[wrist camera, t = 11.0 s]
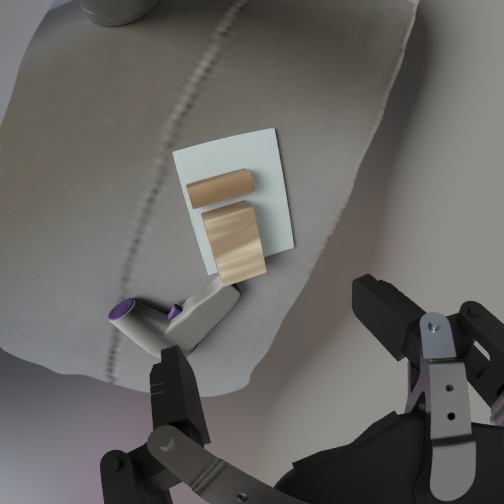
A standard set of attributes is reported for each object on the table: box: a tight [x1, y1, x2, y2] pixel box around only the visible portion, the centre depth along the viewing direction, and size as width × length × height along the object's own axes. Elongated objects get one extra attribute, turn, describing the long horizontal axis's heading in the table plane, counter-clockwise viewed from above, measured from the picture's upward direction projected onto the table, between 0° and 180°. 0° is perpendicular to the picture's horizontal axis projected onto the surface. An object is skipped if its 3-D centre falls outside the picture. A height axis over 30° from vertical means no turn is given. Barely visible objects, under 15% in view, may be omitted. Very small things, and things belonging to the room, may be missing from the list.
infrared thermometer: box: [108, 275, 241, 359], centre depth 35 cm, size 5×12×15 cm
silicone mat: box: [172, 128, 294, 275], centre depth 33 cm, size 16×12×1 cm
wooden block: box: [201, 200, 267, 287], centre depth 33 cm, size 3×6×8 cm
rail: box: [186, 168, 255, 209], centre depth 30 cm, size 2×7×2 cm, turn 101°
